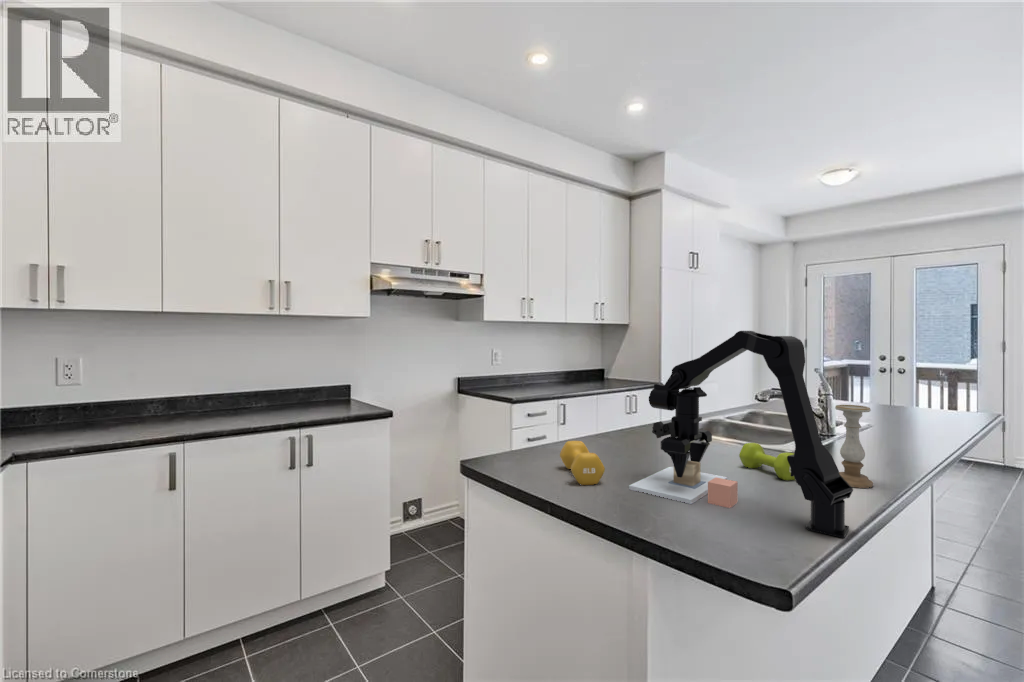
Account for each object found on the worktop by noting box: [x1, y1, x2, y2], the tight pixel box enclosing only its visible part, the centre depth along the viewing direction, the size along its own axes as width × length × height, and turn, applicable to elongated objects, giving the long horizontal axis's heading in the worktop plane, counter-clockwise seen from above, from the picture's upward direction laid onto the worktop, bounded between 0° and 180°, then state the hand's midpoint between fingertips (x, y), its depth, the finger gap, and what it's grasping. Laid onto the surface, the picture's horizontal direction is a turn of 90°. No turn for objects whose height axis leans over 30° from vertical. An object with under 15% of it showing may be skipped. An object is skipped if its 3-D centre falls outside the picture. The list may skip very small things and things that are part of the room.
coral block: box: [707, 477, 739, 509], centre depth 112 cm, size 5×5×5 cm
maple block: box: [674, 459, 702, 486], centre depth 123 cm, size 5×5×5 cm
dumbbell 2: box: [738, 442, 796, 482], centre depth 136 cm, size 16×8×7 cm, turn 16°
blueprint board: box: [628, 466, 728, 505], centre depth 125 cm, size 24×16×1 cm, turn 137°
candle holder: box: [834, 404, 874, 489], centre depth 126 cm, size 9×9×20 cm
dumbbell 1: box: [559, 440, 606, 486], centre depth 134 cm, size 19×9×8 cm, turn 5°
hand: (687, 473), depth 123 cm, fingers open, 9 cm apart
